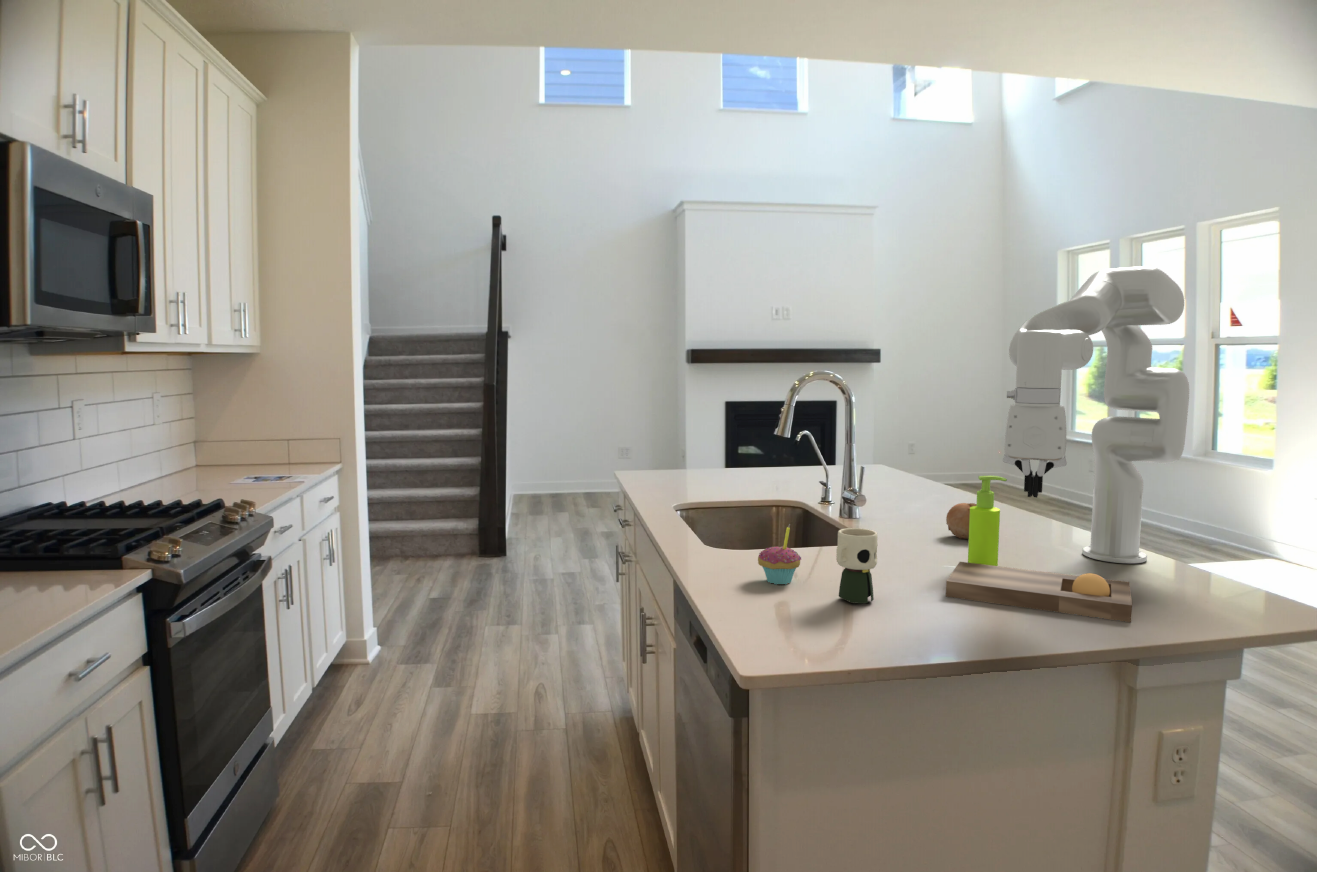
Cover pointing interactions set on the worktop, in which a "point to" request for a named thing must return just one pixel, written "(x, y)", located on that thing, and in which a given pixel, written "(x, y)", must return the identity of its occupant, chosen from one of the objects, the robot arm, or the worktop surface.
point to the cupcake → (779, 562)
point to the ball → (1091, 585)
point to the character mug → (856, 563)
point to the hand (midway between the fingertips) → (1032, 495)
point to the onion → (959, 520)
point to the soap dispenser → (984, 526)
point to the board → (1037, 591)
